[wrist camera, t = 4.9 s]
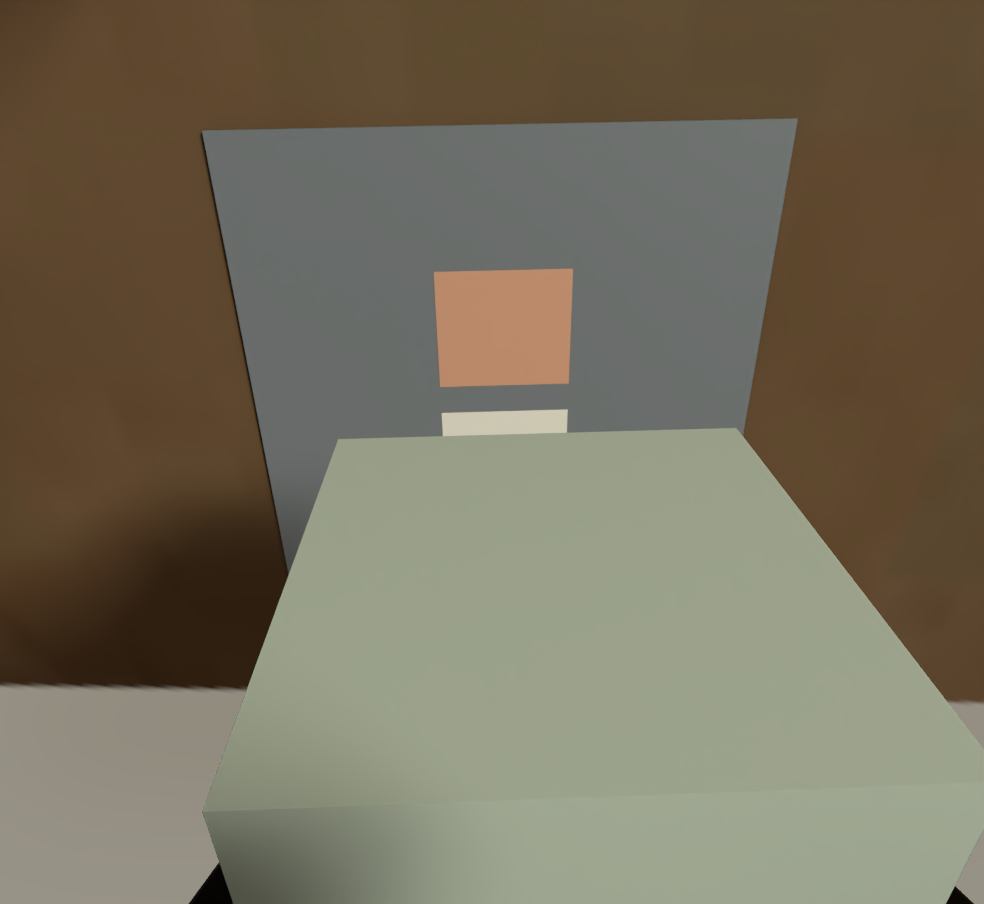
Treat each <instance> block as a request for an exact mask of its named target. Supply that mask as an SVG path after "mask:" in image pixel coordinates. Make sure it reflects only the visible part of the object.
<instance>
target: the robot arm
mask: <svg viewBox="0 0 984 904" xmlns="http://www.w3.org/2000/svg"><path fill="white" fill-rule="evenodd" d="M189 904H233V901H232V898H231V895H230V892H229V890H228V887H227V884H226V881H225V878H224V875H223V872H222V869H221V866H220V863H218V865H217V866H216V867H215V869H214V870H213V871H212V873H211V874H210V876H209V877H208V879H207V880H206V881H205V883H204V884H203V885H202V886H201V888H200V889H199V890H198V892H197V893H196V895H195V896H194V897H193V899H192V900H191V902H190V903H189ZM946 904H973V903H972V902H971V901H970V900H969V899H968V898H967V897H966V896H965V895H964V894H963V893H962V892H961V891H960V890H959V889H957V888H956V887H954V889H953V891H952V893H951V895H950V897H949V899H948V900H947V902H946Z"/></svg>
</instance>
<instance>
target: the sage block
mask: <svg viewBox="0 0 984 904" xmlns="http://www.w3.org/2000/svg"><path fill="white" fill-rule="evenodd" d="M202 813H203V816H204V818H205V821H206V824H207V827H208V830H209V833H210V836H211V839H212V842H213V845H214V848H215V851H216V854H217V857H218V860H219V863H220V866H221V869H222V872H223V875H224V878H225V881H226V884H227V887H228V890H229V892H230V895H231V898H232V901H233V904H946V902H947V900H948V899H949V897H950V895H951V893H952V891H953V889H954V887H955V885H956V883H957V881H958V879H959V877H960V875H961V873H962V871H963V869H964V867H965V865H966V863H967V861H968V859H969V857H970V856H971V853H972V852H973V850H974V848H975V846H976V844H977V842H978V840H979V838H980V836H981V834H982V832H983V830H984V749H983V748H982V747H981V745H980V744H979V743H978V741H977V740H976V739H975V737H974V736H973V735H972V734H971V732H970V731H969V730H968V729H967V727H966V726H965V725H964V724H963V722H962V721H961V719H960V718H959V717H958V716H957V714H956V713H955V712H954V710H953V709H952V708H951V706H950V705H949V704H948V702H947V701H946V700H945V698H944V697H943V696H942V695H941V693H940V692H939V691H938V689H937V688H936V687H935V685H934V684H933V683H932V682H931V680H930V679H929V678H928V676H927V675H926V674H925V672H924V671H923V670H922V669H921V667H920V666H919V665H918V663H917V662H916V661H915V659H914V658H913V657H912V656H911V654H910V653H909V652H908V650H907V649H906V648H905V646H904V645H903V644H902V643H901V641H900V640H899V639H898V637H897V636H896V635H895V633H894V632H893V631H892V630H891V628H890V627H889V626H888V624H887V623H886V622H885V620H884V619H883V618H882V617H881V615H880V614H879V613H878V611H877V610H876V609H875V607H874V606H873V605H872V604H871V602H870V601H869V600H868V598H867V597H866V596H865V594H864V593H863V592H862V591H861V589H860V588H859V587H858V585H857V584H856V583H855V581H854V580H853V579H852V578H851V576H850V575H849V574H848V572H847V571H846V570H845V568H844V567H843V566H842V565H841V563H840V562H839V561H838V559H837V558H836V557H835V555H834V554H833V553H832V552H831V550H830V549H829V548H828V546H827V545H826V544H825V542H824V541H823V540H822V539H821V537H820V536H819V535H818V533H817V532H816V531H815V529H814V528H813V527H812V526H811V524H810V523H809V522H808V520H807V519H806V518H805V516H804V515H803V514H802V513H801V511H800V510H799V509H798V507H797V506H796V505H795V504H794V502H793V501H792V500H791V498H790V497H789V496H788V494H787V493H786V492H785V491H784V489H783V488H782V487H781V485H780V484H779V483H778V481H777V480H776V479H775V478H774V476H773V475H772V474H771V472H770V471H769V470H768V468H767V467H766V466H765V465H764V463H763V462H762V461H761V459H760V458H759V457H758V455H757V454H756V453H755V452H754V450H753V449H752V448H751V446H750V445H749V444H748V442H747V441H746V440H745V439H744V437H743V436H742V435H741V433H740V432H739V431H738V429H737V428H714V429H679V430H643V431H608V432H572V433H537V434H502V435H466V436H431V437H395V438H360V439H338V441H337V444H336V447H335V449H334V452H333V455H332V458H331V460H330V463H329V466H328V469H327V471H326V474H325V477H324V480H323V482H322V485H321V488H320V490H319V493H318V496H317V499H316V501H315V504H314V507H313V510H312V512H311V515H310V518H309V521H308V523H307V526H306V529H305V532H304V534H303V537H302V540H301V543H300V545H299V548H298V551H297V553H296V556H295V559H294V562H293V564H292V567H291V570H290V573H289V575H288V578H287V581H286V584H285V586H284V589H283V592H282V595H281V597H280V600H279V603H278V606H277V608H276V611H275V614H274V617H273V619H272V622H271V625H270V627H269V630H268V633H267V636H266V638H265V641H264V644H263V647H262V649H261V652H260V655H259V658H258V660H257V663H256V666H255V669H254V671H253V674H252V677H251V680H250V682H249V685H248V688H247V691H246V693H245V696H244V699H243V702H242V704H241V707H240V710H239V712H238V715H237V718H236V721H235V724H234V726H233V729H232V732H231V734H230V737H229V740H228V743H227V745H226V748H225V751H224V754H223V757H222V759H221V762H220V765H219V767H218V770H217V773H216V775H215V778H214V781H213V784H212V787H211V789H210V792H209V795H208V797H207V800H206V803H205V806H204V808H203V811H202Z"/></svg>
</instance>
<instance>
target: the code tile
mask: <svg viewBox="0 0 984 904" xmlns="http://www.w3.org/2000/svg"><path fill="white" fill-rule="evenodd" d="M797 121H798V119H796V118H788V119H739V120H690V121H640V122H591V123H542V124H492V125H443V126H394V127H344V128H295V129H245V130H203V131H202V134H203V139H204V144H205V149H206V154H207V160H208V165H209V170H210V175H211V180H212V185H213V190H214V195H215V201H216V206H217V211H218V216H219V221H220V226H221V231H222V236H223V241H224V247H225V252H226V257H227V262H228V267H229V272H230V277H231V282H232V288H233V293H234V298H235V303H236V308H237V313H238V318H239V323H240V329H241V334H242V339H243V344H244V349H245V354H246V359H247V364H248V369H249V375H250V380H251V385H252V390H253V395H254V400H255V405H256V410H257V416H258V421H259V426H260V431H261V436H262V441H263V446H264V451H265V456H266V462H267V467H268V472H269V477H270V482H271V487H272V492H273V497H274V503H275V508H276V513H277V518H278V523H279V528H280V533H281V538H282V544H283V549H284V554H285V559H286V564H287V569H288V574H289V573H290V570H291V567H292V564H293V562H294V559H295V556H296V553H297V551H298V548H299V545H300V543H301V540H302V537H303V534H304V532H305V529H306V526H307V523H308V521H309V518H310V515H311V512H312V510H313V507H314V504H315V501H316V499H317V496H318V493H319V490H320V488H321V485H322V482H323V480H324V477H325V474H326V471H327V469H328V466H329V463H330V460H331V458H332V455H333V452H334V449H335V447H336V444H337V441H338V439H360V438H395V437H431V436H466V435H502V434H537V433H572V432H608V431H643V430H679V429H714V428H737V429H738V431H739V432H740V433H741V435H742V436H743V432H744V427H745V421H746V415H747V409H748V404H749V398H750V392H751V386H752V380H753V375H754V369H755V363H756V357H757V352H758V346H759V340H760V334H761V328H762V323H763V317H764V311H765V305H766V300H767V294H768V288H769V282H770V277H771V271H772V265H773V259H774V253H775V248H776V242H777V236H778V230H779V225H780V219H781V213H782V207H783V201H784V196H785V190H786V184H787V178H788V173H789V167H790V161H791V155H792V150H793V144H794V138H795V132H796V126H797Z"/></svg>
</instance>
